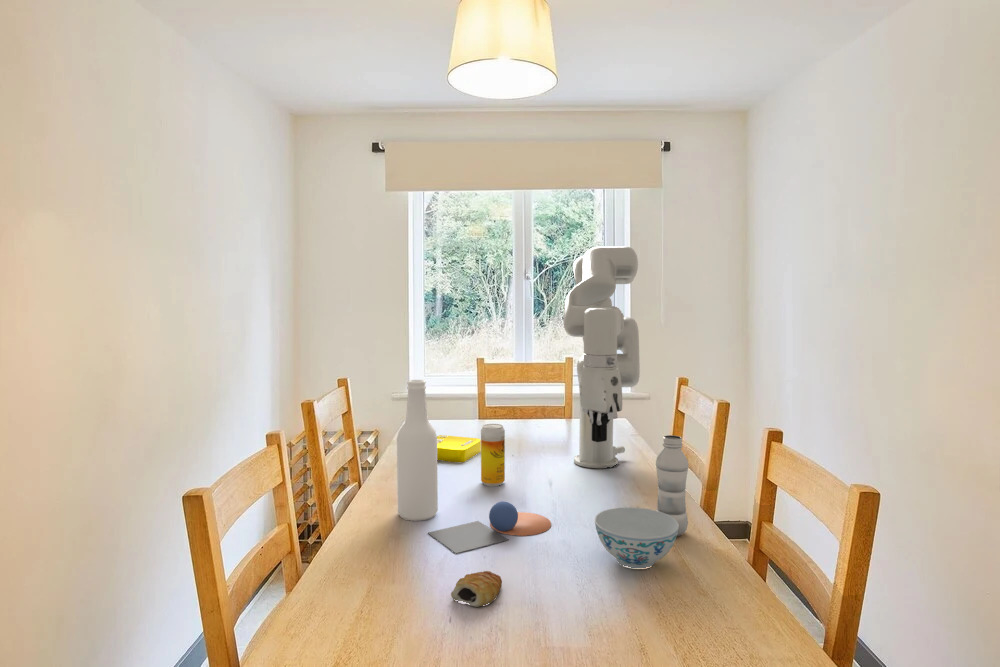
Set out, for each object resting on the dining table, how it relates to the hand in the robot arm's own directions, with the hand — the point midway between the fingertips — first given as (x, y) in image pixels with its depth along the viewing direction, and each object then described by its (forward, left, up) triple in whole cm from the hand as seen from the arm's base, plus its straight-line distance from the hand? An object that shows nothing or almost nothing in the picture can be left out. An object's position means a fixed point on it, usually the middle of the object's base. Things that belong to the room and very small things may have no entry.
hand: (599, 440), depth 146 cm
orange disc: (+22, 0, -15) cm, 27 cm away
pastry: (+46, +22, -16) cm, 53 cm away
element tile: (+8, -58, -16) cm, 61 cm away
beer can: (+12, -27, -15) cm, 33 cm away
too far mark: (+35, 0, -15) cm, 38 cm away
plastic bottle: (-1, +21, -15) cm, 26 cm away
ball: (+27, +1, -12) cm, 30 cm away
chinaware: (+15, +27, -15) cm, 35 cm away
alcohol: (+38, -17, -15) cm, 44 cm away
